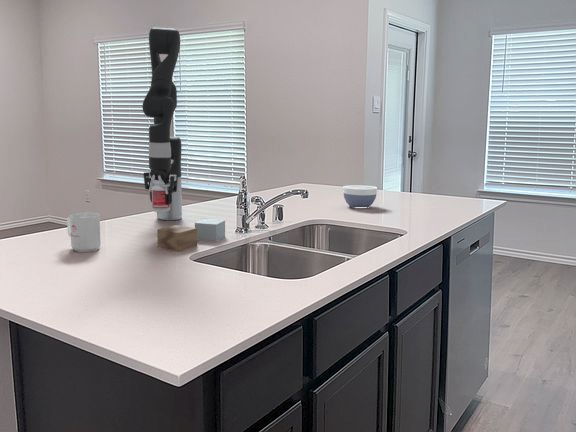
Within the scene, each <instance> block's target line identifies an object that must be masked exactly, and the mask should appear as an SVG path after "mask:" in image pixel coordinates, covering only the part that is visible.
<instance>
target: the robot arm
mask: <svg viewBox="0 0 576 432" xmlns="http://www.w3.org/2000/svg"><path fill="white" fill-rule="evenodd" d="M148 45H149V56H150V65H151V66H150V67H151V80H150V87H149V90H148V92H147V94H146V95H145V97H144V99H143V102H142V112H143V113H144V115H145V116H146V117H148V118H153V124H152V125H150V126H149V128H148V168H149V170H150V171H146V172H143V175H142V176H143V182H144V189H145V190H148V191H149V201H150V203H152V187H153V186H154V180H159V181H160V182H161V185H162V188H164V190H165V193H166V194H165V204H166V205H169V204H170V210H169V211H167V212H156V218H157V219H159V220H163V221H175V220H176V221H177V220H182V218H183V211H182V210H183V203H182V201H183V199H182V198H183V195H182V193H183V192H182V141H181V138H180V137H179V136H171V125H172V119H173V116H174V113H175V110H176V108H177V105H178V96H177V95H178V92H177V86H176V84H175V83H174V81H173V76H174V72H175V68H176V66H177V63H178V62H177V61H178V58H179V55H180V49H181V35H180V31H179V30H178V29H176V28H169V27H168V28H167V27H151V28H150V29H149V33H148ZM160 55H167V56H166V57H165V58H164V59H163V60H162V59H161V57H160ZM165 184H167V185H165ZM167 187H168V188H167ZM168 189H169V190H168Z"/></svg>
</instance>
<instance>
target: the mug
mask: <svg viewBox="0 0 576 432" xmlns="http://www.w3.org/2000/svg"><path fill="white" fill-rule="evenodd" d="M100 218H101V217H100V213H97V212H76V213H72V214H70V215H69V217H66V227H67V234H68V236H69V237H70V247H71V249H72V250H74V251H75V252H76V253H77V252H78V253H89V252H90V253H91V252H95V251H98V249H99V248H101V244H102V243H101V241H102V240H101V221H100V220H101V219H100Z"/></svg>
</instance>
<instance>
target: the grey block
mask: <svg viewBox="0 0 576 432" xmlns="http://www.w3.org/2000/svg"><path fill="white" fill-rule="evenodd" d="M194 228H197V241H203V242H216V243H217V242H219V241H221V240H222V239H224V238H226V220H225V219H213V218H212V219H211V218H203V219H200V220H198V221H196V222H194Z"/></svg>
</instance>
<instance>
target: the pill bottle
mask: <svg viewBox="0 0 576 432" xmlns="http://www.w3.org/2000/svg"><path fill="white" fill-rule="evenodd" d="M165 185H167V184H165ZM167 188H168V187H167ZM168 190H169V189H168ZM165 194H166V193H165V190H164V188H162V185H161V182H160V181H159V180H154V186H153V187H152V202H151V209H152V211H153V212H155V213H157V212H167V211H169V210H170V204H169V205H166V204H165Z"/></svg>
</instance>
